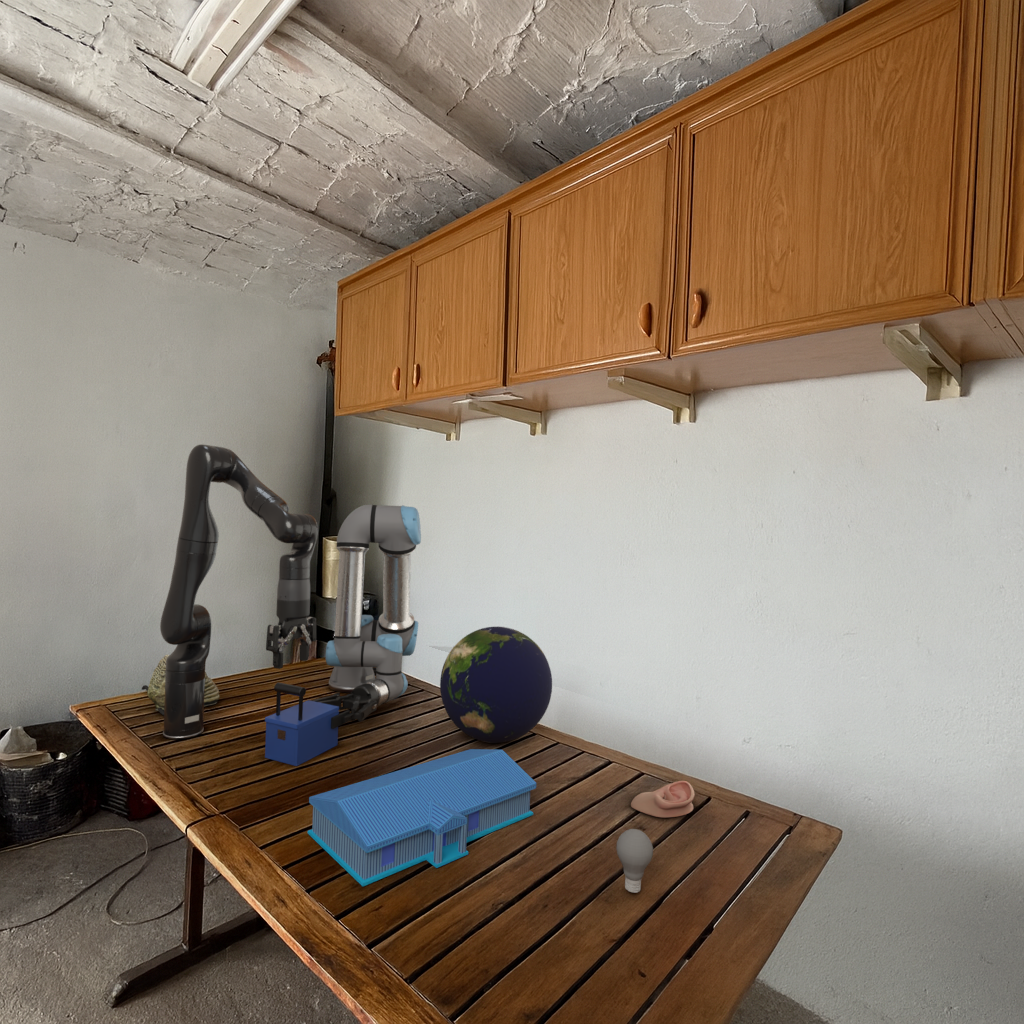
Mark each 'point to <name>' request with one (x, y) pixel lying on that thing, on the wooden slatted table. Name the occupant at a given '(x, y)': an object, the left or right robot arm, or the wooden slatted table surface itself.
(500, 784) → the model building
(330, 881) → the wooden slatted table surface
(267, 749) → the chest
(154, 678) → the fossil
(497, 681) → the globe
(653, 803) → the anatomical model
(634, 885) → the light bulb
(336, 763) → the wooden slatted table surface
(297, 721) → the lid
